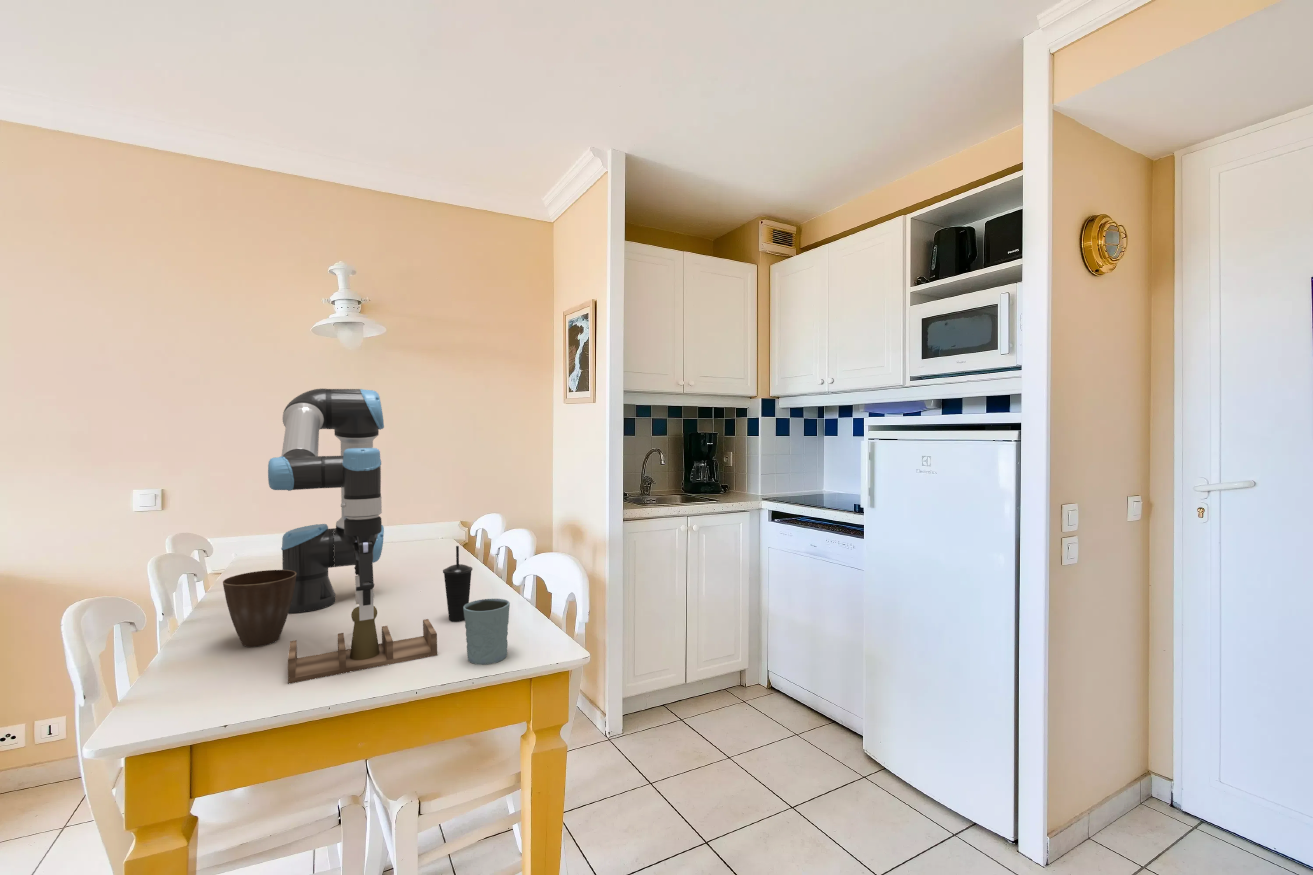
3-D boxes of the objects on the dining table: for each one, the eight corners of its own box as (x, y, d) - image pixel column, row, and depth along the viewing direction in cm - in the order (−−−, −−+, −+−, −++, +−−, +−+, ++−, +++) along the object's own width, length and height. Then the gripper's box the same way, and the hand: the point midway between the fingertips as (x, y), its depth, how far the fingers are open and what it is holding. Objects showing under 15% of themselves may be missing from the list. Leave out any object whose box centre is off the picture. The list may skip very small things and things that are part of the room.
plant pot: (303, 628, 152) (302, 567, 152) (289, 647, 138) (288, 580, 138) (236, 635, 147) (234, 572, 147) (214, 656, 133) (212, 587, 133)
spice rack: (290, 663, 129) (290, 641, 129) (428, 639, 143) (428, 618, 143) (288, 683, 118) (287, 659, 118) (437, 655, 133) (436, 633, 133)
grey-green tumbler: (471, 669, 125) (470, 613, 125) (458, 654, 133) (457, 602, 133) (516, 658, 130) (516, 605, 130) (502, 645, 139) (501, 595, 139)
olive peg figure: (346, 654, 131) (346, 605, 131) (375, 647, 135) (375, 600, 135) (353, 662, 127) (352, 612, 126) (383, 655, 130) (382, 606, 130)
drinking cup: (456, 625, 153) (455, 549, 153) (437, 620, 157) (436, 547, 157) (479, 617, 160) (478, 544, 159) (460, 612, 164) (459, 542, 163)
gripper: (341, 511, 139) (343, 599, 140) (346, 526, 118) (348, 630, 118) (376, 508, 143) (377, 594, 143) (387, 522, 122) (388, 623, 122)
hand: (364, 610), depth 131 cm, fingers open, 13 cm apart
